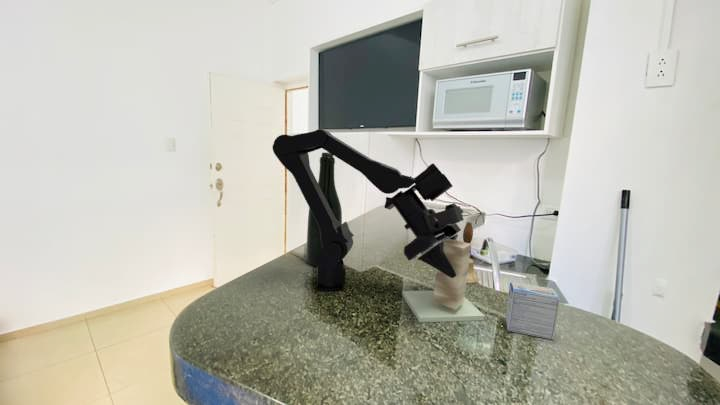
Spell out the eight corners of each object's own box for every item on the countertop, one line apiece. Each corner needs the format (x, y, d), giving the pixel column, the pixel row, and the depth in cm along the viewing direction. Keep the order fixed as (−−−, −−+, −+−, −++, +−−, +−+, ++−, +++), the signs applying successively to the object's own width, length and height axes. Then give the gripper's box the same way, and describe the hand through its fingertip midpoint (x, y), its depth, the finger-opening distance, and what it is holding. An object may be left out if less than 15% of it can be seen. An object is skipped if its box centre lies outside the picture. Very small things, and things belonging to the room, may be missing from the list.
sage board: (419, 322, 59) (419, 317, 59) (402, 295, 71) (402, 291, 71) (484, 320, 61) (484, 315, 61) (456, 294, 73) (457, 290, 73)
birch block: (432, 301, 64) (439, 242, 62) (441, 294, 68) (448, 238, 66) (455, 309, 61) (463, 248, 59) (463, 301, 65) (471, 243, 63)
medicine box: (547, 329, 59) (554, 288, 58) (554, 341, 55) (561, 297, 54) (504, 320, 62) (509, 280, 61) (507, 331, 58) (513, 289, 57)
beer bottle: (340, 256, 96) (345, 153, 91) (340, 268, 86) (346, 153, 81) (308, 255, 95) (311, 151, 91) (304, 267, 85) (307, 151, 80)
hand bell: (443, 272, 87) (448, 219, 85) (468, 272, 89) (474, 219, 87) (457, 284, 79) (463, 226, 77) (485, 283, 81) (492, 226, 79)
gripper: (423, 194, 55) (477, 265, 51) (456, 189, 70) (500, 244, 66) (384, 227, 61) (429, 294, 56) (422, 216, 76) (461, 269, 71)
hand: (458, 273), depth 62 cm, fingers closed on birch block, 5 cm apart
